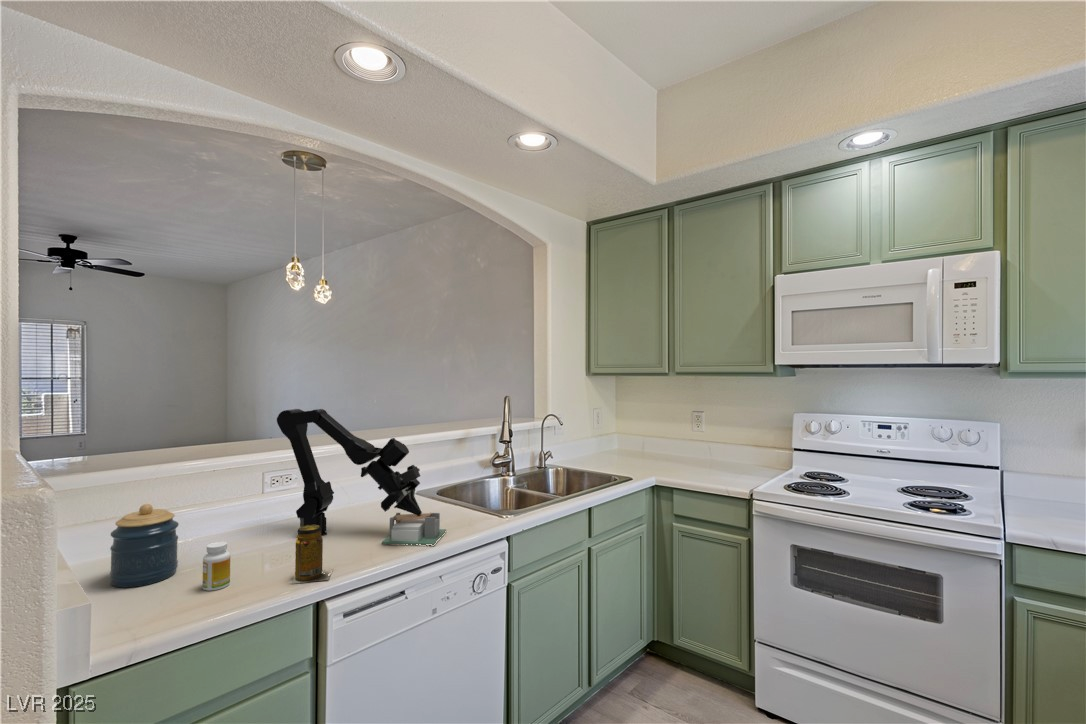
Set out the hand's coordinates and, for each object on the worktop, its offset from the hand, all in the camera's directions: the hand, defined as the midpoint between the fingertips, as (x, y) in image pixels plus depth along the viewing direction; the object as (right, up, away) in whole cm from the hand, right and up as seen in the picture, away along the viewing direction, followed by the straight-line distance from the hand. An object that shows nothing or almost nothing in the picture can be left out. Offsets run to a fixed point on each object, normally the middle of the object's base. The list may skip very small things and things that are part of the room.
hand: (420, 514), depth 151 cm
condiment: (-20, -7, -28) cm, 35 cm away
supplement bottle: (-39, -7, -34) cm, 53 cm away
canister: (-60, -7, -29) cm, 67 cm away
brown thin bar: (-8, -1, +1) cm, 8 cm away
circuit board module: (-2, -7, 0) cm, 8 cm away
